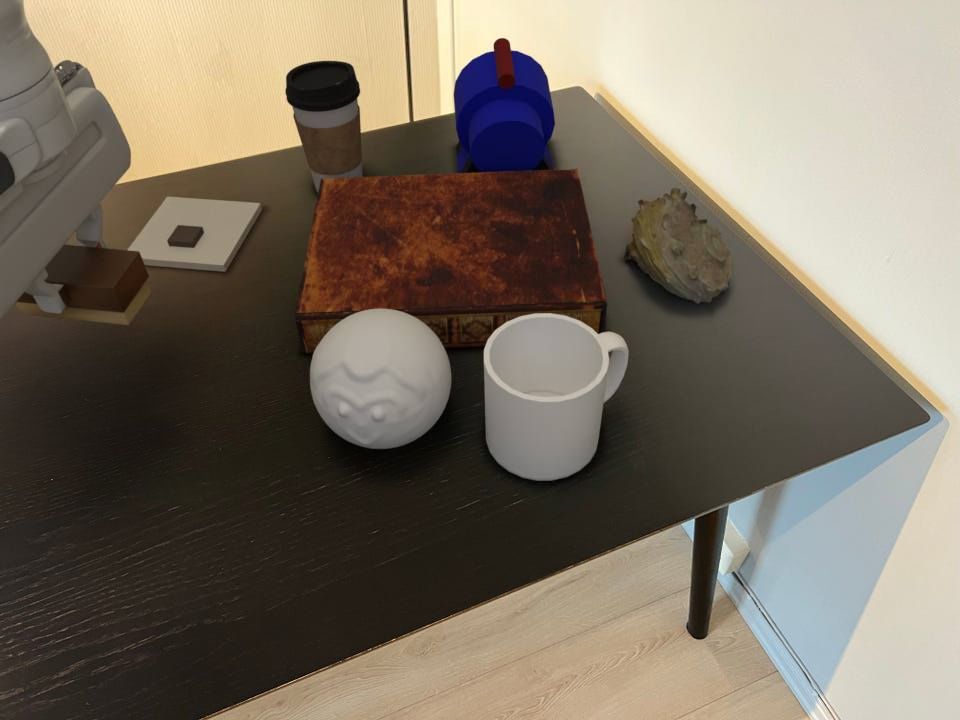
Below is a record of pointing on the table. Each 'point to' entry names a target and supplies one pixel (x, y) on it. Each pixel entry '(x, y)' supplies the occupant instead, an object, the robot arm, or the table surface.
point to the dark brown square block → (185, 236)
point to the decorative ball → (380, 378)
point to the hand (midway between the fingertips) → (76, 282)
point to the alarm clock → (503, 113)
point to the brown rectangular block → (95, 284)
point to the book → (451, 253)
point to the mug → (548, 393)
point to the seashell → (679, 248)
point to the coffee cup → (327, 117)
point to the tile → (216, 245)
